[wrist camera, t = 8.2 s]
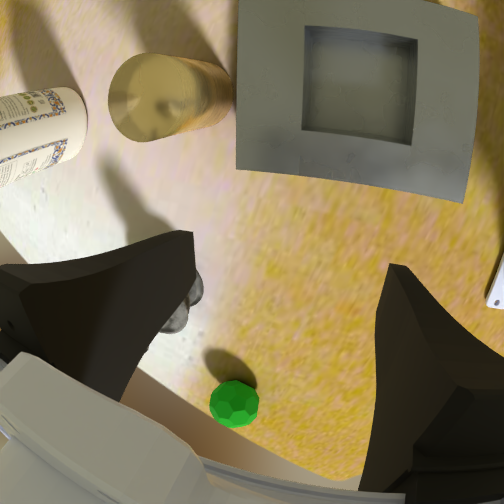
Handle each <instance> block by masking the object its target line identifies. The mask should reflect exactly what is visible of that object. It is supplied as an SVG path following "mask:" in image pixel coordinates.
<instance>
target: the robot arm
mask: <svg viewBox="0 0 504 504" xmlns="http://www.w3.org/2000/svg"><path fill="white" fill-rule="evenodd" d="M196 278H197V277H196V265H195V252H194V238H193V232H190V231H183V230H176V231H171V232H167V233H164V234H161V235H158V236H155V237H152V238H149V239H146V240H143V241H140V242H137V243H134V244H131V245H128V246H125V247H122V248H118V249H115V250H112V251H109V252H105V253H102V254H98V255H93V256H89V257H85V258H80V259H74V260H67V261H62V262H53V263H42V264H4V265H1V266H0V328H1V331H0V431H1V432H2V433H3V434H4V435H5V436H6V437H7V438H8V439H9V441H8V442H7V443H6V444H5V446H4V447H3V448H2V449H1V450H0V504H504V357H502V356H501V355H499V354H498V353H496V352H495V351H493V350H492V349H490V348H489V347H488V346H486V345H485V344H484V343H482V342H481V341H480V340H478V339H477V338H476V337H474V336H473V335H472V334H471V333H470V332H468V331H467V330H466V329H465V328H464V327H463V326H462V325H461V324H459V323H458V322H457V321H456V320H455V319H454V318H453V317H452V316H451V315H450V314H449V313H448V312H447V311H446V310H445V309H444V308H443V307H442V306H441V305H440V304H439V303H438V302H437V300H436V299H435V298H434V297H433V296H432V295H431V294H430V293H429V291H428V290H427V289H426V288H425V287H424V286H423V284H422V283H421V282H420V281H419V280H418V278H417V277H416V276H415V275H414V274H413V273H412V271H411V270H410V269H409V268H408V267H407V266H404V265H398V264H392V263H389V267H388V271H387V275H386V278H385V282H384V286H383V290H382V293H381V297H380V300H379V304H378V307H377V310H376V322H375V355H376V401H375V410H374V417H373V424H372V430H371V436H370V442H369V447H368V452H367V456H366V461H365V465H364V470H363V474H362V477H361V481H360V485H359V488H358V491H352V490H343V489H335V488H327V487H321V486H314V485H308V484H303V483H297V482H292V481H287V480H283V479H278V478H274V477H269V476H265V475H261V474H257V473H253V472H249V471H246V470H242V469H239V468H235V467H232V466H228V465H225V464H222V463H219V462H215V461H212V460H210V459H207V458H204V457H201V456H198V455H196V454H195V452H194V451H193V450H192V448H191V447H190V446H189V445H188V444H187V443H186V442H184V441H183V440H182V439H180V438H179V437H177V436H176V435H175V434H173V433H172V432H171V431H170V430H168V429H167V428H166V427H164V426H163V425H161V424H159V423H157V422H155V421H153V420H151V419H150V418H148V417H146V416H144V415H142V414H141V413H139V412H137V411H135V410H134V409H131V408H129V407H127V406H125V405H123V404H121V403H119V401H120V399H121V397H122V395H123V392H124V390H125V388H126V386H127V384H128V382H129V380H130V378H131V376H132V374H133V373H134V371H135V368H136V367H137V365H138V363H139V361H140V360H141V358H142V356H143V355H144V353H145V351H146V350H147V348H148V346H149V345H150V343H151V342H152V340H153V339H154V337H155V336H156V335H157V333H158V332H159V331H160V330H161V328H162V327H163V326H164V325H165V323H166V322H167V321H168V320H169V318H170V317H171V316H172V315H173V313H174V312H175V311H176V309H177V308H178V307H179V306H180V304H181V303H182V302H183V300H184V299H185V298H186V296H187V294H188V293H189V291H190V289H191V287H192V286H193V284H194V282H195V280H196ZM496 300H498V301H497V302H496V303H494V302H495V301H496ZM485 302H486V305H487V306H488V307H491V308H498V309H504V253H503V256H502V259H501V262H500V264H499V267H498V270H497V273H496V275H495V278H494V280H493V283H492V285H491V288H490V290H489V293H488V295H487V297H486V300H485Z"/></svg>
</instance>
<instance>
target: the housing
mask: <svg viewBox="0 0 504 504" xmlns="http://www.w3.org/2000/svg"><path fill="white" fill-rule="evenodd" d="M478 94H479V27H478V16H475V15H472V14H469V13H466V12H463V11H460V10H457V9H453V8H450V7H447V6H443V5H439V4H436V3H432V2H428V1H424V0H239V5H238V45H237V104H236V169H238V170H250V171H261V172H271V173H281V174H290V175H299V176H307V177H315V178H323V179H330V180H337V181H344V182H351V183H357V184H364V185H370V186H376V187H382V188H388V189H393V190H399V191H404V192H410V193H415V194H420V195H425V196H430V197H435V198H439V199H444V200H449V201H453V202H458V203H462V204H463V200H464V196H465V191H466V186H467V181H468V176H469V170H470V164H471V158H472V152H473V145H474V137H475V129H476V119H477V108H478Z"/></svg>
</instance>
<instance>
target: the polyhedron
mask: <svg viewBox="0 0 504 504" xmlns="http://www.w3.org/2000/svg"><path fill="white" fill-rule="evenodd" d="M258 404H259V397H258V395H257V393H256V391H255V389H253V388H251V387H250V386H248V385H246V384H244V383H242V382H239V381H237V380H233V381H226V382H224V383H222V384H220V385H219V386H218V387H217V388H216V389H215V390H214V391H213V392H212V394H211V399H210V405H209V406H210V411H211V413H212V415H213V417H214V419H215V420H216V421H217V422H219V423H220V424H222V425H224V426H226V427H229V428H236V427H242V426H246V425H249V424H250V423H251V422H252V421H253V420H254V419H255V418H256V417H257V411H258Z"/></svg>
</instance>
